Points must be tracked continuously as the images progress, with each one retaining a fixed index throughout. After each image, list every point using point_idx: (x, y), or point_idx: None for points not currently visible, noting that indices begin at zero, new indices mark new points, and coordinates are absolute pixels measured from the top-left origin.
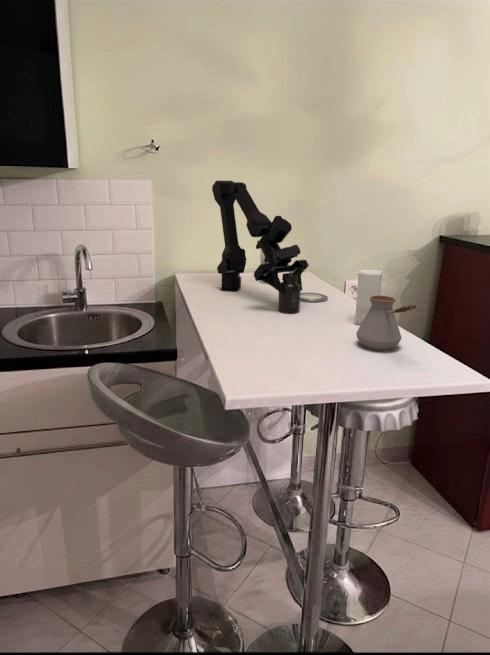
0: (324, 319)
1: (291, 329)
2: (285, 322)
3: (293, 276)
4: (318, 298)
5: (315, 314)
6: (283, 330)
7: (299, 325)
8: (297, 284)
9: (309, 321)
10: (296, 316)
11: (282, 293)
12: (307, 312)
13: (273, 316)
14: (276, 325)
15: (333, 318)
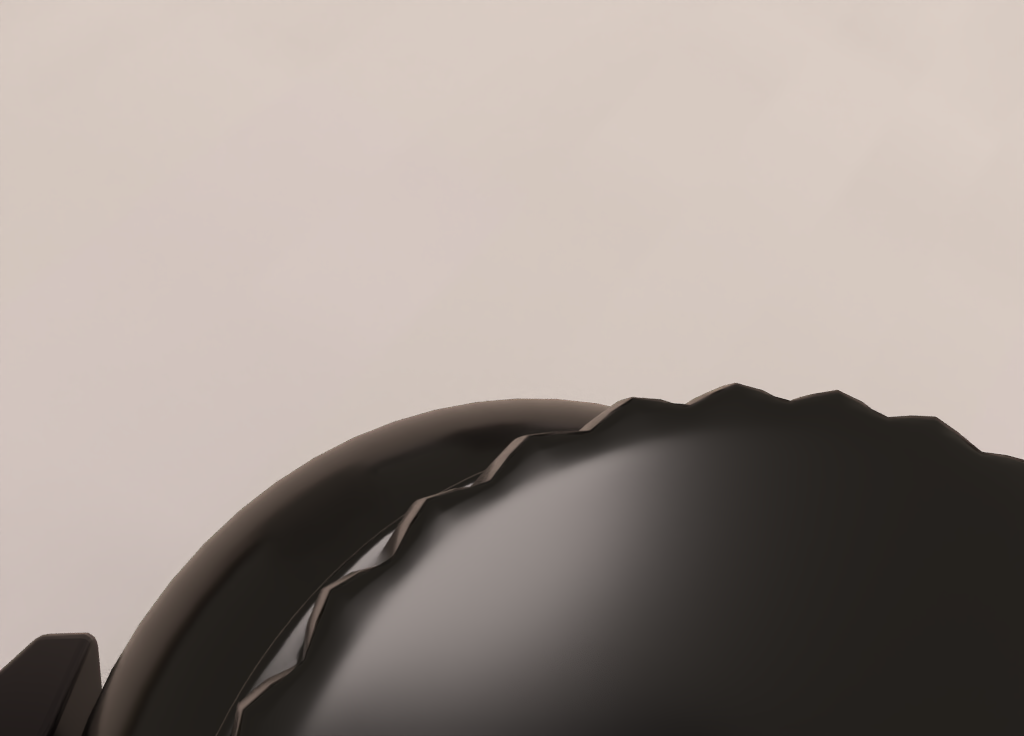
0: (218, 51)
1: (903, 26)
2: (837, 258)
3: (858, 422)
4: None
5: (113, 318)
6: (1002, 53)
7: (735, 70)
8: (447, 458)
9: (500, 110)
10: None
11: None
12: (140, 497)
13: None
14: (1001, 227)
15: (39, 5)
